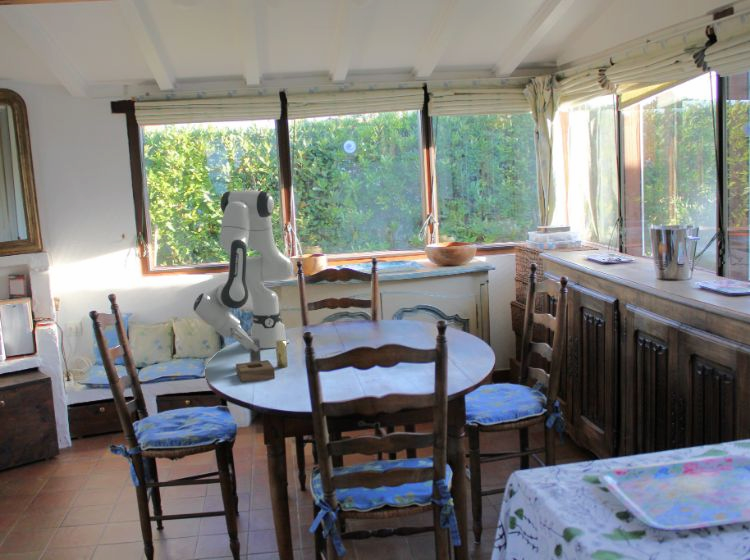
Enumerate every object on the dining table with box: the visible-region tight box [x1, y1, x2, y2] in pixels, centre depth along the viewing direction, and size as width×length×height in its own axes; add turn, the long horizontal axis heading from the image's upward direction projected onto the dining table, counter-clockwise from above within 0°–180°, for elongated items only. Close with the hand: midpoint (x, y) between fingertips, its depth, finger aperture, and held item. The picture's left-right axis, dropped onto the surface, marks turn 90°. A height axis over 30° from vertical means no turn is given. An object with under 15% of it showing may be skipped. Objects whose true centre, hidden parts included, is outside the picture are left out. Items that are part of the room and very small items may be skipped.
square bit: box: [248, 338, 262, 362], centre depth 282 cm, size 4×4×10 cm
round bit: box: [275, 340, 289, 369], centre depth 278 cm, size 4×4×10 cm
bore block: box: [235, 359, 276, 383], centre depth 266 cm, size 12×12×4 cm
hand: (256, 348), depth 282 cm, fingers closed on square bit, 4 cm apart
